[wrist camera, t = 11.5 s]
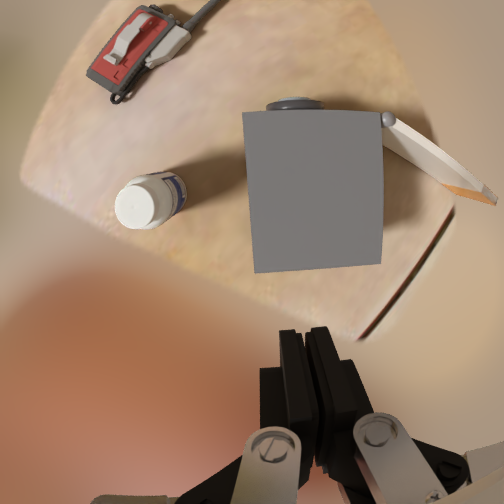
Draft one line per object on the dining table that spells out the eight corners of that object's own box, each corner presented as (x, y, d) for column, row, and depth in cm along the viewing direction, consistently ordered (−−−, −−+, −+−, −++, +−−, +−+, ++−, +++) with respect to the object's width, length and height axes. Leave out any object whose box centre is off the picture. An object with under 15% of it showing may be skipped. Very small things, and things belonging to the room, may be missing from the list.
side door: (350, 129, 30) (380, 121, 22) (355, 119, 30) (385, 108, 21) (455, 195, 32) (495, 207, 24) (458, 186, 31) (499, 196, 23)
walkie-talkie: (131, 114, 30) (234, -2, 25) (116, 110, 26) (232, -19, 21) (88, 85, 29) (184, -25, 24) (70, 79, 24) (177, -41, 19)
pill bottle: (140, 207, 33) (102, 225, 24) (153, 165, 32) (116, 169, 23) (179, 222, 34) (152, 246, 25) (194, 180, 32) (170, 188, 23)
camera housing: (244, 110, 30) (240, 93, 21) (349, 109, 29) (379, 94, 21) (255, 244, 35) (254, 273, 26) (353, 238, 34) (381, 263, 26)
